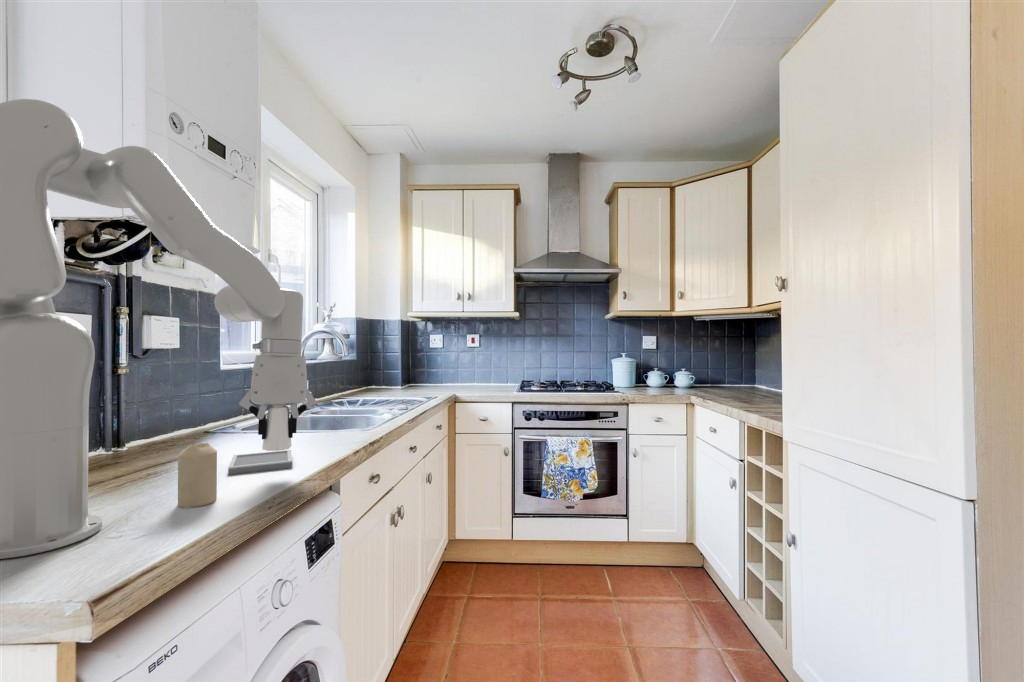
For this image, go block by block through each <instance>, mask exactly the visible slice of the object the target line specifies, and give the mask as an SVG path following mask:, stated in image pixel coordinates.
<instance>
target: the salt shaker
mask: <svg viewBox="0 0 1024 682" xmlns="http://www.w3.org/2000/svg"><path fill="white" fill-rule="evenodd" d="M266 418H267V425H266V439H262V440H263V441H262V447H261V449H262V450H263V451H266V452H272V451H282V450H290V449H291V448H292V438H290V437H289V418H290V407H289V406H288V405H287V404H271V405H270V406H269V407H268V410H267V414H266Z"/></svg>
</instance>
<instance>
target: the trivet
mask: <svg viewBox="0 0 1024 682" xmlns="http://www.w3.org/2000/svg"><path fill="white" fill-rule="evenodd" d="M227 468H228V469H227V474H228V475H229V476H230V475H238V474H239V475H240V474H247V473H255V472H256V473H257V472H265V471H273V470H284V469H292V468H293V457H292V450H291V449H286V450H280V451H264V452H263V451H262V452H261V451H260V452H251V453H243V454H241V453H240V454H234V455H233V456H232V457H231V460H230V463H229V465H228V467H227Z"/></svg>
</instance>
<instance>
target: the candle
mask: <svg viewBox="0 0 1024 682" xmlns="http://www.w3.org/2000/svg"><path fill="white" fill-rule="evenodd" d="M217 462H218V451H217V449H216V448H214V447H213V446H212V445H210V443H208V442H207V443H206V442H205V443H198V444H189V445H188V446H187V447H186V448H184V449H183V450H182V451H181V452H179V454H178V456H177V506H178V507H179V508H182V507H190V509H191V507H192V508H197V507H203V506H206V505H210V504H212V503H215V502H216V500H217V496H218V495H217V494H218V489H217V485H218V484H217V483H218V480H217V478H218V477H217V476H218V474H217V473H218V463H217Z"/></svg>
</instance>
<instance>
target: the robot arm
mask: <svg viewBox="0 0 1024 682" xmlns="http://www.w3.org/2000/svg"><path fill="white" fill-rule="evenodd" d="M83 146H84V141H83V136H82V132H81V130H80V128H79V125H78V124H77V122H76V121H75V120H74V119H73V117H72V116H71V115H70V114H68V112H67V111H65V110H64V109H62V108H61V107H59V106H57V105H55V104H52V103H50V102H48V101H44V100H39V99H32V98H20V99H12V100H7V101H4V102H1V103H0V560H2V559H11V558H12V559H13V558H18V557H26V556H31V555H35V554H40V553H44V552H47V551H48V552H49V551H53V550H55V549H59V548H63V547H65V546H69V545H71V544H72V545H73V544H75V543H76V542H80V541H82V540H85V539H87V538H89V537H90V536H92V535H95V534H96V533H98V531H100V530H101V528H102V527H103V519H102V518H101V516H98V515H95V514H89V433H90V431H89V429H90V428H89V427H90V426H89V424H90V423H89V417H90V415H89V412H90V411H89V410H90V409H89V408H90V407H89V405H90V404H89V403H90V390H91V383H92V376H93V371H94V365H95V356H96V355H95V354H96V352H95V351H96V350H95V349H96V348H95V346H94V345H95V344H94V341H93V339H92V336H91V335H90V333H89V331H88V330H87V329H86V328H85V327H84V326H83V325H81V323H79V322H78V321H76V320H75V319H71V318H70V317H68V316H65V315H62V314H58V313H57V312H56V309H55V305H54V301H53V298H52V297H55V296H56V295H58V294H59V293H60V292H61V291H62V290H63V288H64V286H65V284H66V282H67V270H66V266H65V263H64V259H63V257H62V254H61V250H60V247H59V244H58V240H57V236H56V233H55V229H54V226H53V223H52V219H51V213H50V207H49V202H48V196H47V195H48V191H50V192H54V193H57V194H62V195H64V196H67V197H68V196H69V197H71V198H75V199H78V200H82V201H86V202H89V203H93V204H96V205H97V204H98V205H102V206H106V207H109V208H116V209H117V208H118V209H131V211H132V212H133V213H134V214H135V216H136V217H137V218H139V220H140V221H141V222H142V223H143V224H144V226H146V227H147V228H148V230H149V231H150V232H151V233H152V234H153V236H154V237H155V238H156V239H157V240H158V241H159V242H160V243H161V244H162V246H163V247H164V248H165V249H166V250H168V251H169V253H171V254H173V255H176V256H177V257H180V258H182V259H184V260H185V261H186V260H187V261H190V262H192V263H195V264H197V265H200V266H201V267H204V268H205V269H208V270H209V271H211V272H212V273H213V274H215V275H216V276H217V277H219V278H221V279H222V280H223V281H224V282H225V283H226V284H227V286H223V287H222V288H221V289H219V291H218V292H217V293H216V295H215V297H214V301H213V303H214V308H215V310H216V312H217V313H218V314H219V315H220V316H221V317H223V319H226V320H228V321H231V322H237V323H244V322H245V323H249V322H261V334H260V335H261V336H260V340H259V341H256V342H252V350H257V351H259V352H260V353H259V354H257V355H255V358H254V361H253V362H254V363H253V367H252V372H251V373H252V374H251V384H250V385H251V386H250V389H249V390H248V391H247V393H246V394H245V395H244V396H243V397H242V398H241V400H240V401H239V402H238V404H239V406H241V407H242V408H244V409H246V410H248V411H249V412H250V413H252V415H254V417H256V418H257V419H258V428H257V430H258V432H257V435H259V436H260V435H261V440H264V439H266V425H267V414H266V411H267V408H268V405H270V406H271V405H272V404H286V405H289V406H290V407H289V408H290V412H291V414H289V437H290V438H291V439H292V438H293V437H294V436H293V434H296V433H297V428H298V427H297V425H298V422H297V421H298V418H299V417H300V415H302V414H303V413H304V412H305V411H306V410H308V409H309V408H310V407H312V406H313V405H315V404H317V400H316V399H315V397H314V396H313V394H312V393H311V391H310V390H309V389H308V379H307V378H308V377H307V375H308V372H307V371H308V370H307V361H306V357H305V356H304V355H302V342H303V341H302V339H303V313H304V297H303V294H302V292H300V291H297V290H293V289H288V288H281V286H280V285H279V283H278V281H277V280H276V278H275V277H274V276H273V275H272V273H271V272H270V271H269V269H268V268H267V266H265V264H264V263H263V262H262V261H261V260H260V259H259V258H258V257H257V256H256V255H255V254H254V253H253V252H252V251H250V250H249V249H248V248H246V247H245V246H244V245H242V244H241V243H240V242H238V241H237V240H236V239H234V237H232V236H230V235H229V234H227V233H226V232H224V231H223V230H221V229H219V227H217V226H216V225H215V224H214V222H212V220H211V219H210V217H208V215H207V214H206V213H205V211H204V210H203V209H202V208H201V206H200V205H199V204H198V203H197V202H196V200H195V198H193V197H192V195H191V194H190V193H189V192H188V191H187V189H186V188H185V186H184V185H183V184H182V183H181V181H180V180H179V179H178V178H177V176H176V175H175V174H174V173H173V172H172V170H171V169H170V168H169V166H168V165H167V164H166V162H164V160H163V159H161V157H160V156H159V155H158V154H157V153H155V152H153V151H152V150H150V149H148V148H146V147H143V146H137V145H126V146H121V147H117V148H115V149H112V150H110V151H107V152H106V153H101V152H100V153H99V152H96V151H93V150H90V149H87V148H84V147H83ZM250 401H251V402H250ZM252 403H253V404H252ZM301 403H302V404H301ZM254 404H255V405H254ZM299 404H300V405H299ZM257 405H259V408H258V407H257ZM298 405H299V406H298Z"/></svg>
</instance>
